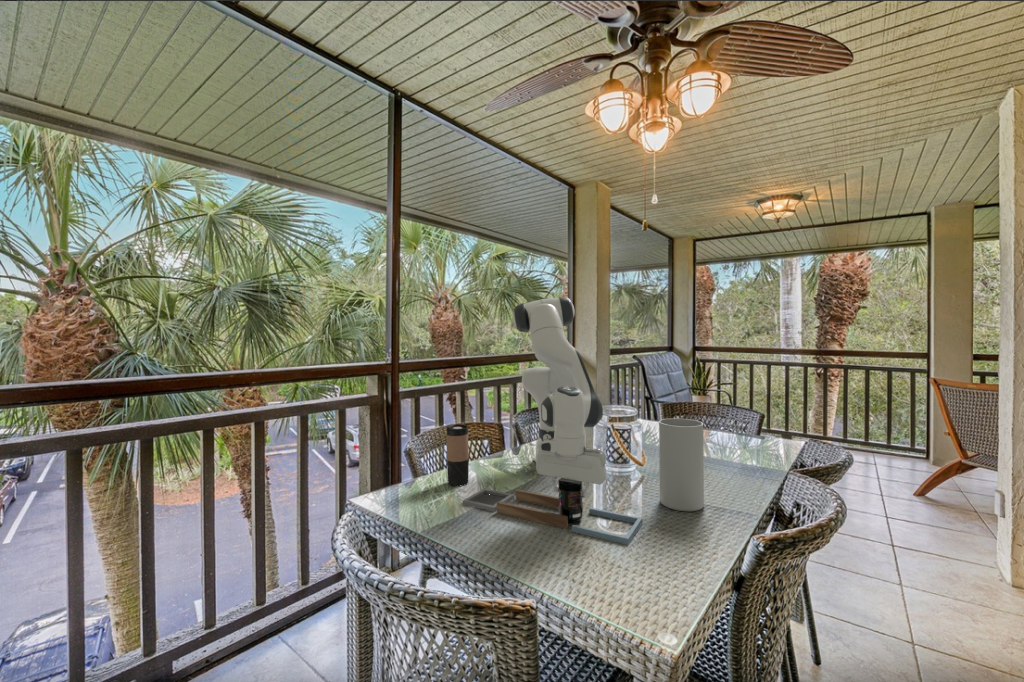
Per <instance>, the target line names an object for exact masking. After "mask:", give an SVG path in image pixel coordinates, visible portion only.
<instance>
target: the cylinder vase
mask: <svg viewBox="0 0 1024 682" xmlns="http://www.w3.org/2000/svg"><path fill="white" fill-rule="evenodd" d="M658 436H659V437H658V439H659V440H658V443H659V444H658V447H659V448H658V449H659V452H658V455H659V457H658V458H659V464H658V465H659V466H658V467H659V501H660V503H661V505H662V506H664V507H665V508H668V509H671V510H674V511H678V512H687V513H689V512H690V513H692V512H697V511H699V510H702V509H703V508H704V507H705V506H704V505H705V493H704V492H705V491H704V489H705V486H704V485H705V483H704V482H705V479H704V478H705V476H704V475H705V471H704V469H705V464H704V422H702V421H699V420H696V419H689V418H679V417H678V418H672V417H671V418H662V419H660V420H659V421H658Z"/></svg>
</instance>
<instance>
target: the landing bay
mask: <svg viewBox="0 0 1024 682" xmlns="http://www.w3.org/2000/svg"><path fill="white" fill-rule="evenodd" d="M588 511H589V515H593V516H598V517H603V518H608V519H612V520H617V521H622V522H627V523H633V525H632V527H631V528H630V529H629V531H628V532H627V533H626V535H622V534H621V535H620V534H616V533H612V532H608V531H603V530H600V529H595V528H591V527H586V526H581V525H575V524H572V525H571V532H573V533H575V532H576V533H577V534H581V535H584V536H589V537H592V536H593V537H594V538H598V539H601V540H606V541H610V542H614V543H619V544H623V545H626V544H627V545H628V546H629V544H630V543H631V542H632V540H633V539H634V538H635V536H636V534H637V533H636V532H638V531H639V530H638V529H640V528H641V526H642V525H643V520H644V519H643V517H639V516H636V515H630V514H625V513H619V512H617V511H616V512H614V511H610V510H606V509H605V510H604V509H600V508H594V507H589V509H588ZM627 545H626V546H627Z"/></svg>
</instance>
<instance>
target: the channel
mask: <svg viewBox="0 0 1024 682" xmlns="http://www.w3.org/2000/svg"><path fill="white" fill-rule="evenodd" d="M515 500H516V501H518V500H520V501H519V502H523V501H524V502H525V503H528V504H533V505H538V504H539V505H538V506H542V505H544V507H547V506H548V508H552V507H553V508H552V509H557V508H558V510H559V496H554V495H548V494H544V493H538V492H532V491H528V490H523V489H516V490H515ZM582 508H583V509H584V501H582ZM496 513H497V514H501V515H505V516H509V517H512V518H519V519H522V520H527V521H531V522H535V523H539V524H544V525H548V526H553V527H556V526H557V527H556V528H560V527H561V528H560V529H564V528H565V530H567V529H568V528H569V522H568V516H565V515H560V514H559V513H556V512H555V513H554V512H550V511H545V510H541V509H537V508H531V507H527V506H523V505H518V504H514V503H510V502H508V503H505V502H500V501H499V502H497V510H496ZM567 527H568V528H567ZM566 528H567V529H566Z"/></svg>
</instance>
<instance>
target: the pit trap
mask: <svg viewBox="0 0 1024 682" xmlns="http://www.w3.org/2000/svg"><path fill="white" fill-rule="evenodd" d="M489 494H490V495H489ZM512 499H513V500H514V499H515V494H513V493H509V492H503V491H498V490H493V489H489V488H482V489H481V490H479V491H476V493H475V492H474V494H472V495H470V496H467V498H465V499H463V500H462V505H463V504H464V506H467V507H471V506H472V508H477V509H480V508H481V510H484V509H485V510H484V511H488V512H497V502H499V501H500V502H505V503H510V502H511V501H513V500H512ZM510 500H511V501H510ZM509 501H510V502H509Z"/></svg>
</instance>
